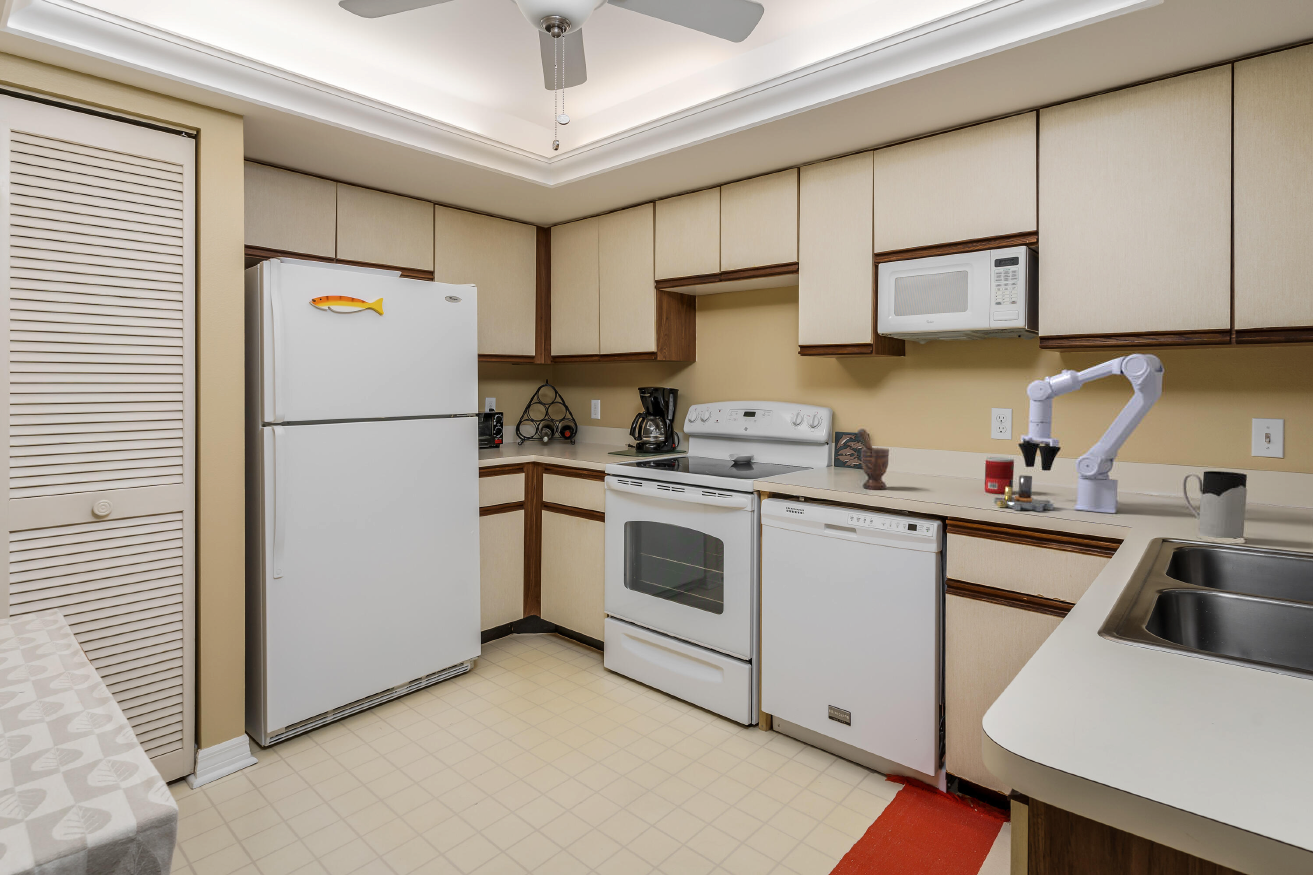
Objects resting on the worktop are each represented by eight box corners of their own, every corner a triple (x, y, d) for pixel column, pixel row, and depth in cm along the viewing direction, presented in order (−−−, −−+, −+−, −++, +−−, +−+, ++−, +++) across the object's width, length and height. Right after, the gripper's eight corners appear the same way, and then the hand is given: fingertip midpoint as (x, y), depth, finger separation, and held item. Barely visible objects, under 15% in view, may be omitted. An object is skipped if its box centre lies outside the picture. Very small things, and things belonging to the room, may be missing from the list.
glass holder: (1222, 544, 150) (1227, 476, 149) (1164, 530, 164) (1168, 468, 163) (1256, 542, 151) (1261, 475, 150) (1196, 528, 165) (1200, 467, 164)
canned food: (1015, 495, 213) (1017, 460, 212) (988, 494, 214) (989, 459, 213) (1008, 491, 220) (1009, 457, 219) (981, 490, 222) (983, 456, 221)
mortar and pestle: (878, 492, 217) (880, 429, 216) (852, 489, 223) (853, 428, 221) (891, 488, 226) (893, 427, 225) (866, 485, 232) (867, 426, 230)
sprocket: (1031, 501, 201) (1032, 482, 200) (1065, 510, 186) (1066, 490, 186) (984, 501, 200) (984, 483, 199) (1013, 511, 185) (1014, 491, 185)
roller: (1020, 495, 195) (1021, 475, 194) (1032, 497, 193) (1033, 476, 192) (1016, 497, 193) (1017, 476, 192) (1029, 498, 190) (1029, 477, 190)
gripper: (1012, 420, 205) (1010, 465, 207) (1043, 423, 191) (1040, 472, 192) (1034, 420, 206) (1032, 465, 207) (1066, 423, 192) (1064, 471, 193)
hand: (1037, 468), depth 200 cm, fingers open, 7 cm apart
